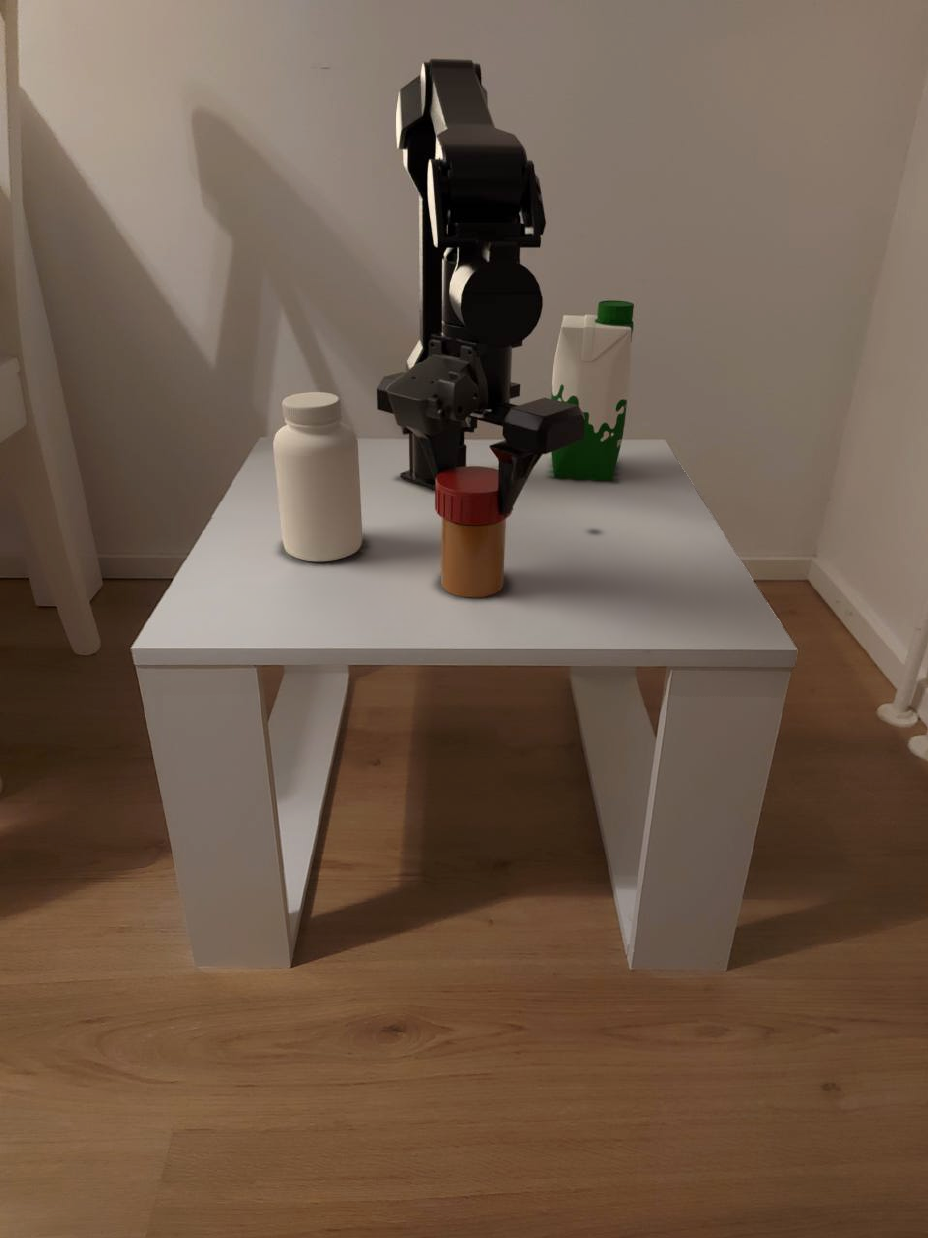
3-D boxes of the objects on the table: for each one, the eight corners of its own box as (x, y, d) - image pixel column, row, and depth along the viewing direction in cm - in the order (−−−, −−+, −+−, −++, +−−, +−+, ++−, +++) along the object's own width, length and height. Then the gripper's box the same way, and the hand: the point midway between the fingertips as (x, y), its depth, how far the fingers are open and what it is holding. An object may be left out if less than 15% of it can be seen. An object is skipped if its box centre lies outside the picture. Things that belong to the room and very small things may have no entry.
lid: (476, 531, 73) (476, 499, 72) (419, 509, 77) (418, 478, 76) (528, 510, 77) (530, 479, 76) (471, 490, 82) (472, 460, 80)
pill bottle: (267, 556, 85) (251, 404, 78) (307, 526, 92) (296, 384, 85) (340, 569, 83) (330, 414, 76) (376, 537, 90) (370, 392, 82)
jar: (428, 583, 81) (427, 485, 76) (469, 564, 84) (471, 469, 80) (474, 604, 77) (477, 503, 73) (516, 583, 81) (520, 485, 76)
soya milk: (619, 484, 104) (638, 310, 95) (544, 479, 105) (555, 307, 96) (618, 461, 112) (636, 297, 102) (548, 456, 113) (559, 294, 103)
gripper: (323, 318, 69) (334, 501, 77) (503, 355, 59) (496, 563, 66) (420, 301, 77) (422, 470, 84) (596, 332, 66) (580, 522, 74)
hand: (473, 503), depth 77 cm, fingers closed on lid, 7 cm apart
